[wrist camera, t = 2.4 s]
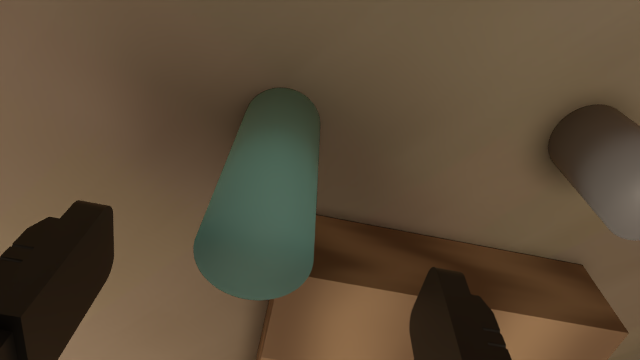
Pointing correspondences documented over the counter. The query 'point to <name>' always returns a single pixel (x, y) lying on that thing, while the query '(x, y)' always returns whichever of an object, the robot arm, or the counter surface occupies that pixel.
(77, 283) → the robot arm
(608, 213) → the short pin
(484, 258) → the walnut block
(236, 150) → the teal pin
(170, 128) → the counter surface
